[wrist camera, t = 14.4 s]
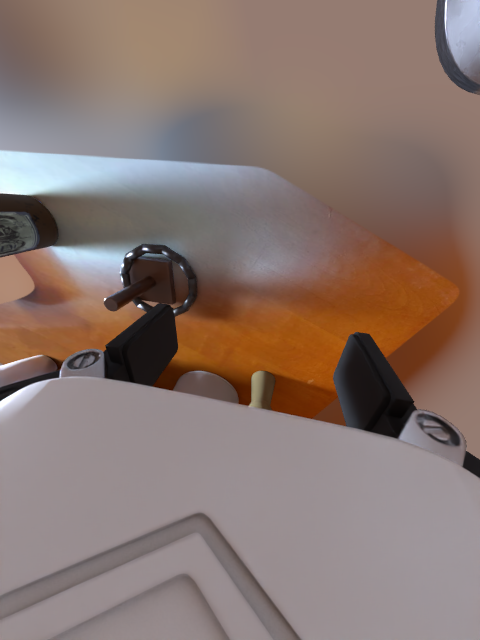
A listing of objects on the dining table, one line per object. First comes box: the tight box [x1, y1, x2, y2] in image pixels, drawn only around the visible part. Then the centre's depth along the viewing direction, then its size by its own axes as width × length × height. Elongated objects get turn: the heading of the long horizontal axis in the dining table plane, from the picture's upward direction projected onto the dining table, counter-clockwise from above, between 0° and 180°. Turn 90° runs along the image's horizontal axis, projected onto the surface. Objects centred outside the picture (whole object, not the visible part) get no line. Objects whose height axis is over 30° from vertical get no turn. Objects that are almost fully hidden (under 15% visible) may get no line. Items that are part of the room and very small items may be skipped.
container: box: [173, 371, 239, 404], centre depth 52 cm, size 19×19×15 cm
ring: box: [120, 244, 197, 316], centre depth 41 cm, size 15×15×2 cm
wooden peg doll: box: [249, 371, 275, 411], centre depth 46 cm, size 6×6×11 cm
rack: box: [104, 257, 176, 311], centre depth 37 cm, size 9×9×12 cm
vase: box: [0, 355, 57, 387], centre depth 54 cm, size 14×14×25 cm
